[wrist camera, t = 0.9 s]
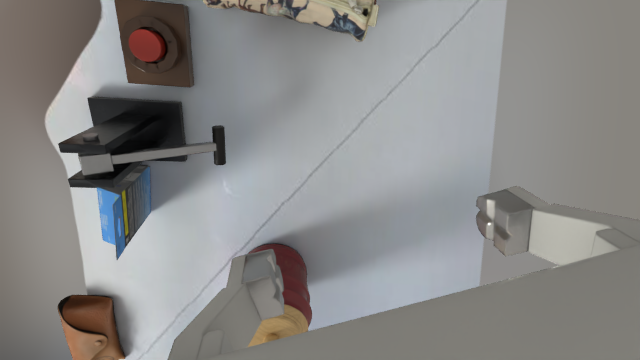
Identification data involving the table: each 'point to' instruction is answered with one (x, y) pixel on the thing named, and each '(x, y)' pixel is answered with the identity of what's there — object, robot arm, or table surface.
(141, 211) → the tape cartridge
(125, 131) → the bracket
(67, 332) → the sunglasses case
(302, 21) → the pencil case
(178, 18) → the control block
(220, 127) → the lever
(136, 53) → the button
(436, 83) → the table surface
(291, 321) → the kitchen canister
